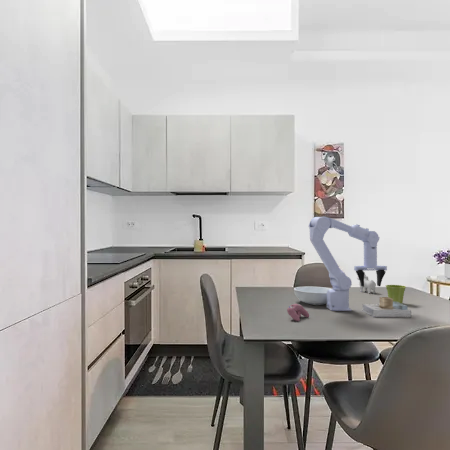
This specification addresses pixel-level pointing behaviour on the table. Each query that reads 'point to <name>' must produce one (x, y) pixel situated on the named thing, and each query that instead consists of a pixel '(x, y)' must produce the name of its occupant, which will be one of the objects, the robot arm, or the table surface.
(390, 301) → the tan tall block
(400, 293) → the plant pot
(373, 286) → the dog figurine
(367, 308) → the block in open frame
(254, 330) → the table surface
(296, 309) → the video game controller
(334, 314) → the table surface
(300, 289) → the serving bowl
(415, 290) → the table surface
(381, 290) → the table surface
